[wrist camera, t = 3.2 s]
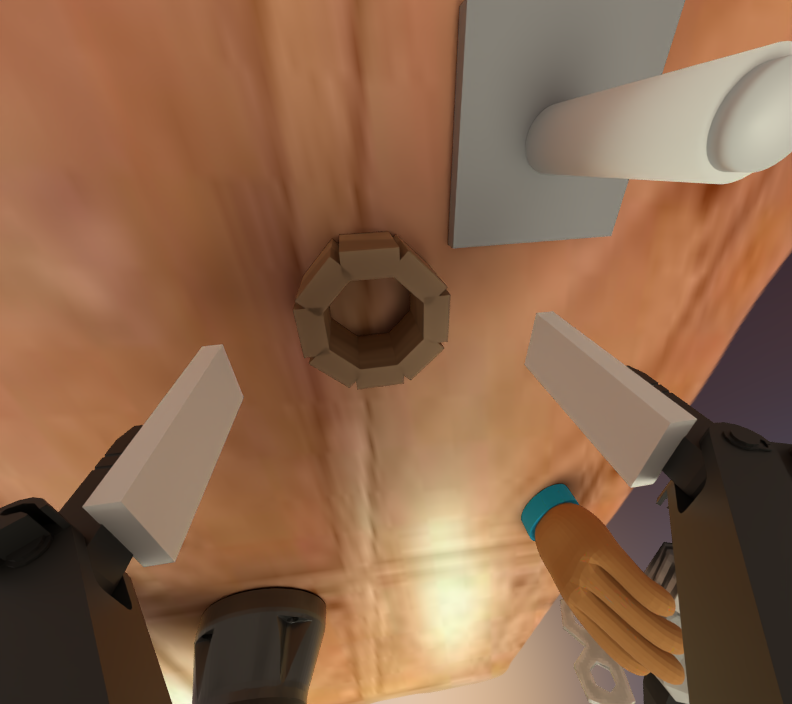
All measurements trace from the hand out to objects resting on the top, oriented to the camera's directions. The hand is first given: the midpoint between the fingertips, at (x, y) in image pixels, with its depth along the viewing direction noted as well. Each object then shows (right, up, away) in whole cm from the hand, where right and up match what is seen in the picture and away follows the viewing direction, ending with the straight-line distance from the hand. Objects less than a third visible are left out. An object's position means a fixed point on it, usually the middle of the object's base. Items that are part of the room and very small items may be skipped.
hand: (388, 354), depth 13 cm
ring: (-1, +4, +6) cm, 7 cm away
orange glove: (+19, -19, +24) cm, 36 cm away
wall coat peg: (+8, +11, +3) cm, 14 cm away
